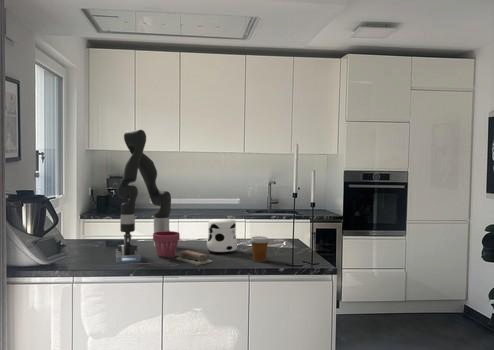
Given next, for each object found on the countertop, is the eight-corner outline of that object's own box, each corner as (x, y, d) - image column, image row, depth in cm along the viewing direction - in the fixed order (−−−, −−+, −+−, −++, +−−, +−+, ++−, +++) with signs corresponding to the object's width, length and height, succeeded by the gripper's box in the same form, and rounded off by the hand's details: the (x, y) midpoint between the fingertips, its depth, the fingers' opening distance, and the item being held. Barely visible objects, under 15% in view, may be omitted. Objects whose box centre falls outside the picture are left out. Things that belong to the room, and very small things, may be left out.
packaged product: (175, 251, 248) (190, 248, 255) (175, 260, 248) (190, 257, 255) (198, 256, 235) (212, 253, 242) (197, 266, 235) (212, 263, 242)
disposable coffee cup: (257, 263, 241) (258, 239, 240) (246, 259, 248) (247, 237, 248) (272, 261, 246) (272, 238, 246) (261, 257, 254) (261, 235, 253)
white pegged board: (138, 254, 260) (138, 247, 260) (141, 262, 239) (141, 255, 239) (115, 255, 256) (115, 248, 256) (116, 264, 235) (116, 257, 235)
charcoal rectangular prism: (137, 253, 256) (136, 244, 256) (137, 254, 253) (137, 245, 253) (118, 254, 253) (117, 245, 253) (118, 255, 250) (117, 246, 250)
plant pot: (171, 260, 245) (171, 235, 245) (147, 258, 250) (147, 234, 249) (184, 255, 258) (184, 232, 258) (161, 253, 263) (161, 230, 263)
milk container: (243, 252, 269) (243, 220, 268) (221, 256, 256) (221, 223, 255) (222, 248, 280) (222, 217, 280) (200, 252, 268) (200, 220, 267)
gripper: (135, 224, 247) (135, 256, 248) (134, 220, 260) (134, 251, 261) (120, 224, 245) (120, 257, 245) (120, 221, 258) (119, 252, 259)
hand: (127, 254), depth 253 cm, fingers closed on charcoal rectangular prism, 2 cm apart
